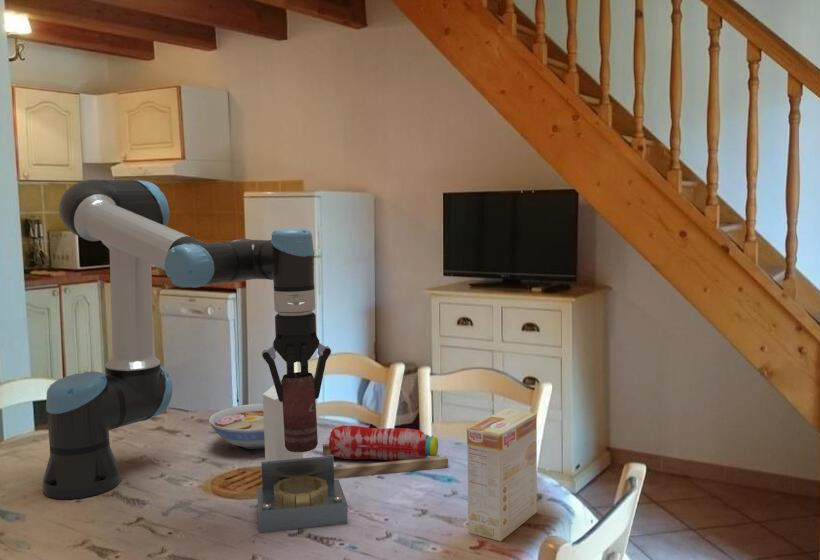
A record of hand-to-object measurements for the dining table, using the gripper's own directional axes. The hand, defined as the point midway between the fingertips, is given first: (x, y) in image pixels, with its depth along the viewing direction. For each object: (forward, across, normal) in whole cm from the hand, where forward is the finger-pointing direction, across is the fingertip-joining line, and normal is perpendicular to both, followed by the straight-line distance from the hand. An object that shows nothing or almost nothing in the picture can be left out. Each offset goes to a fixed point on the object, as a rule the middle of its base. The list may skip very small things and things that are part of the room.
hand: (299, 436), depth 141 cm
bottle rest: (+15, +21, +26) cm, 37 cm away
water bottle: (+16, +22, +28) cm, 38 cm away
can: (+2, 0, 0) cm, 2 cm away
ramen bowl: (+15, -7, +45) cm, 48 cm away
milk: (+16, -2, +19) cm, 25 cm away
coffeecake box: (+16, +36, -13) cm, 41 cm away
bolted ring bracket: (+16, 0, 0) cm, 16 cm away
